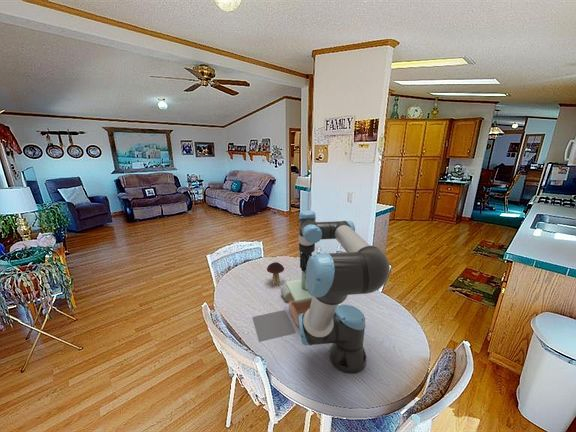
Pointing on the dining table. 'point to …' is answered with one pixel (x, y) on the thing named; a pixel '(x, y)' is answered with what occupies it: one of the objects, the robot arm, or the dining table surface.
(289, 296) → the ceramic mug
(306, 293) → the lid
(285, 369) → the dining table surface
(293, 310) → the dish
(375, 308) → the dining table surface
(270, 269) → the decorative mushroom
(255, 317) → the mat
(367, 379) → the dining table surface
